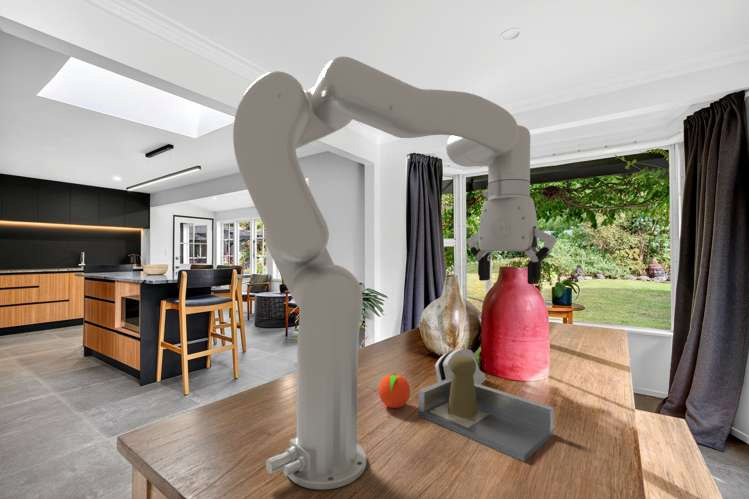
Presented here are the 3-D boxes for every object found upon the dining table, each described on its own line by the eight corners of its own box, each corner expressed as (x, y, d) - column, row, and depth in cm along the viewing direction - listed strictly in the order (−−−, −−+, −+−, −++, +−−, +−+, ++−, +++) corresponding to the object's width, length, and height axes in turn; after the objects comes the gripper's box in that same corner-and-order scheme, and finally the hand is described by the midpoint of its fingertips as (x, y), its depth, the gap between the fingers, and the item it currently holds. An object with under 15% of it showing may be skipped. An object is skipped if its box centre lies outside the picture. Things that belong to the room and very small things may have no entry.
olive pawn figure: (457, 401, 78) (458, 351, 78) (483, 410, 73) (483, 357, 73) (441, 410, 73) (442, 356, 73) (467, 420, 69) (468, 363, 69)
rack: (524, 462, 58) (524, 429, 58) (418, 415, 73) (418, 390, 73) (554, 434, 67) (554, 406, 67) (454, 398, 82) (454, 375, 82)
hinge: (459, 400, 81) (446, 356, 84) (442, 401, 84) (430, 359, 86) (487, 380, 94) (475, 342, 97) (471, 382, 97) (460, 345, 99)
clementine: (407, 417, 72) (407, 382, 72) (374, 414, 74) (374, 379, 74) (412, 401, 80) (412, 370, 80) (381, 398, 82) (382, 367, 82)
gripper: (458, 195, 72) (457, 279, 72) (547, 184, 60) (546, 286, 59) (478, 199, 77) (477, 278, 77) (563, 190, 65) (562, 284, 65)
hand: (507, 281), depth 68 cm, fingers open, 9 cm apart
